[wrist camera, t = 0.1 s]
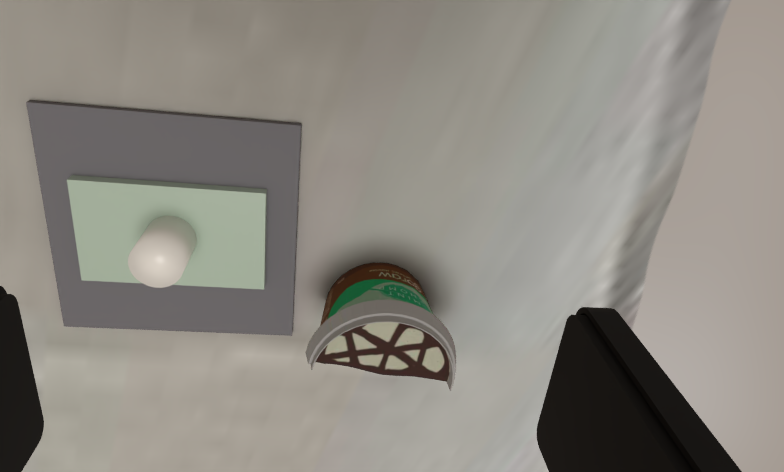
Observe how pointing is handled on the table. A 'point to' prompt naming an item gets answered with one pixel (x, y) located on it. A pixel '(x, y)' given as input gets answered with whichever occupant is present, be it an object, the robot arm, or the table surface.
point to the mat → (169, 164)
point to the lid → (169, 232)
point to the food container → (383, 326)
